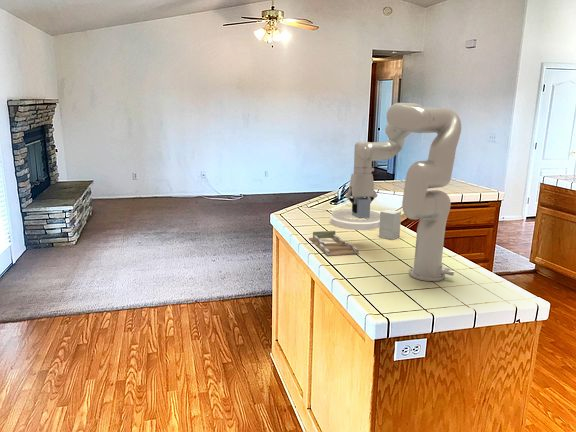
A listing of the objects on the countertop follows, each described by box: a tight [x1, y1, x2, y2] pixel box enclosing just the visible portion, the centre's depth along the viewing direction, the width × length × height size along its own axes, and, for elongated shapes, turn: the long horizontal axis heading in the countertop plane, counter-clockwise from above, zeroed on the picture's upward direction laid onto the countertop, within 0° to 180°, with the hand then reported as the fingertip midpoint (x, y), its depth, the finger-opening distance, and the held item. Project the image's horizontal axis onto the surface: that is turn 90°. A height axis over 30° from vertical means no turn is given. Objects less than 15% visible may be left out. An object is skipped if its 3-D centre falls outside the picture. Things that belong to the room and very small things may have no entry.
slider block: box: [352, 197, 371, 220], centre depth 199 cm, size 8×5×8 cm, turn 14°
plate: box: [329, 208, 380, 231], centre depth 241 cm, size 27×27×6 cm
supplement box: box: [378, 208, 402, 241], centre depth 215 cm, size 7×7×13 cm
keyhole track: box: [308, 230, 360, 257], centre depth 200 cm, size 26×14×3 cm, turn 14°
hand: (360, 211), depth 199 cm, fingers closed on slider block, 5 cm apart
